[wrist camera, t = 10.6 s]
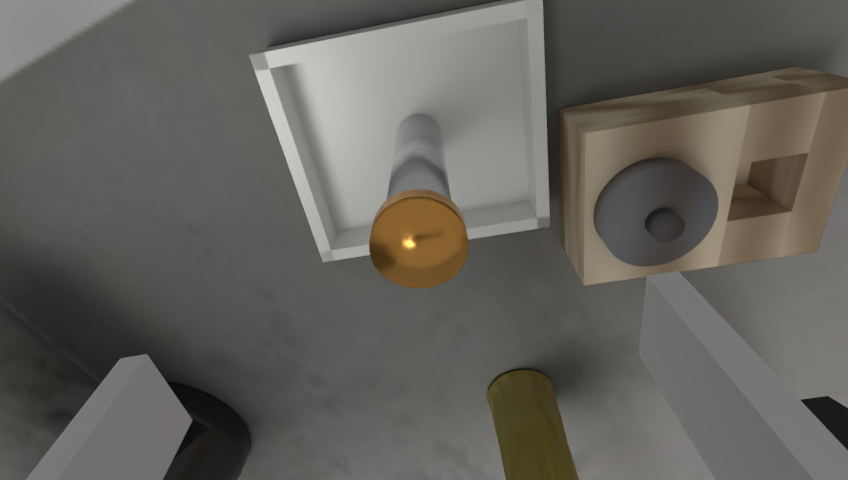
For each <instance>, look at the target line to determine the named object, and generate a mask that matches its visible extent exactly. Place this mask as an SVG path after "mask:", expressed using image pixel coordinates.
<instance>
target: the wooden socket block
mask: <svg viewBox="0 0 848 480" xmlns="http://www.w3.org/2000/svg"><path fill="white" fill-rule="evenodd" d="M559 133H560V190H561V245H562V247H563V248H564V250H565V252H566V254H567V256H568V258H569V260H570V261H571V263H572V265H573V267H574V269H575V271H576V273H577V274H578V276H579V278H580V280H581V282H582V284H583V285H584V286H585V285H592V284H599V283H605V282H612V281H619V280H626V279H633V278H640V277H647V276H648V275H655V274H661V273H667V272H674V271H679V272H682V271H688V270H695V269H702V268H709V267H716V266H723V265H730V264H737V263H744V262H751V261H758V260H764V259H771V258H778V257H785V256H792V255H799V254H806V253H813V252H817V249H818V246H819V243H820V240H821V237H822V234H823V231H824V228H825V225H826V222H827V219H828V216H829V213H830V210H831V207H832V205H833V202H834V199H835V196H836V193H837V190H838V187H839V184H840V181H841V178H842V175H843V172H844V169H845V166H846V163H847V160H848V78H846V77H842V76H837V75H833V74H829V73H824V72H820V71H815V70H811V69H807V68H802V67H792V68H786V69H781V70H775V71H770V72H764V73H758V74H753V75H747V76H741V77H736V78H730V79H725V80H719V81H713V82H708V83H702V84H696V85H691V86H685V87H680V88H674V89H668V90H663V91H657V92H651V93H646V94H640V95H635V96H629V97H623V98H618V99H612V100H606V101H601V102H595V103H590V104H584V105H578V106H573V107H567V108H561V109H559Z"/></svg>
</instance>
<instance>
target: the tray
mask: <svg viewBox="0 0 848 480" xmlns="http://www.w3.org/2000/svg"><path fill="white" fill-rule="evenodd" d="M249 57H250V59H251V62H252V65H253V68H254V71H255V74H256V76H257V79H258V82H259V85H260V88H261V90H262V93H263V96H264V99H265V102H266V104H267V107H268V110H269V113H270V116H271V118H272V121H273V124H274V127H275V130H276V132H277V135H278V138H279V141H280V144H281V146H282V149H283V152H284V155H285V158H286V160H287V163H288V166H289V169H290V172H291V174H292V177H293V180H294V183H295V186H296V188H297V191H298V194H299V197H300V200H301V202H302V205H303V208H304V211H305V214H306V216H307V219H308V222H309V225H310V228H311V230H312V233H313V236H314V239H315V242H316V244H317V247H318V250H319V253H320V256H321V258H322V261H323V262H328V261H334V260H341V259H347V258H353V257H360V256H366V255H370V251H369V241H370V235H371V230H372V225H373V220H374V217H375V215H376V213H377V211H378V209H379V208H380V207H381V205H382V204H383V203H384V202H385V201H387V195H388V189H389V182H390V175H391V168H392V161H393V155H394V148H395V141H396V134H397V129H398V127H399V125H400V123H401V122H402V121H403V120H404V119H405V118H406V117H408V116H410V115H413V114H425V115H428V116H430V117H431V118H433V119H434V120H435V121H436V122H437V123H438V125H439V127H440V129H441V134H442V141H443V148H444V155H445V162H446V169H447V175H448V182H449V189H450V196H451V201H452V202H453V203H454V204H455V205H456V206H457V207H458V208H459V210H460V211H461V213H462V215H463V218H464V221H465V226H466V231H467V236H468V240H469V239H475V238H481V237H488V236H494V235H501V234H507V233H513V232H520V231H526V230H533V229H539V228H545V227H550V207H549V176H548V146H547V115H546V84H545V53H544V23H543V0H502V1H497V2H492V3H487V4H482V5H477V6H472V7H467V8H462V9H457V10H452V11H447V12H442V13H437V14H432V15H427V16H422V17H417V18H412V19H407V20H402V21H397V22H392V23H387V24H382V25H377V26H372V27H367V28H362V29H357V30H352V31H347V32H342V33H337V34H332V35H327V36H322V37H317V38H312V39H307V40H302V41H297V42H292V43H287V44H282V45H277V46H272V47H267V48H264V49H262V50H260V51H257V52H255V53H253V54H251V55H249Z"/></svg>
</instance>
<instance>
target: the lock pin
mask: <svg viewBox="0 0 848 480" xmlns="http://www.w3.org/2000/svg"><path fill="white" fill-rule="evenodd" d="M468 249H469V243H468V236H467V231H466V226H465V221H464V218H463V215H462V213H461V211H460V210H459V208H458V207H457V206H456V205H455V204H454V203H453V202H452V201H451V196H450V189H449V182H448V175H447V169H446V162H445V155H444V148H443V141H442V134H441V129H440V127H439V125H438V123H437V122H436V121H435V120H434V119H433V118H431V117H430V116H428V115H425V114H413V115H410V116H408V117H406V118H405V119H404V120H403V121H402V122H401V123H400V125H399V127H398V129H397V134H396V141H395V148H394V155H393V161H392V168H391V175H390V182H389V189H388V195H387V201H385V202H384V203H383V204H382V205H381V207H380V208H379V209H378V211H377V213H376V215H375V217H374V220H373V225H372V230H371V235H370V241H369V251H370V256H371V259H372V261H373V263H374V265H375V267H376V268H377V269H378V271H379V272H380V273H381V274H382V275H383V276H384V277H386V278H387V279H389V280H390V281H392V282H394V283H396V284H398V285H401V286H405V287H409V288H428V287H433V286H437V285H440V284H442V283H444V282H446V281H448V280H449V279H451V278H452V277H453V276H455V275H456V274H457V273H458V272H459V270H460V269H461V268H462V266H463V265H464V263H465V261H466V258H467V255H468Z"/></svg>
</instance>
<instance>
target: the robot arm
mask: <svg viewBox="0 0 848 480" xmlns="http://www.w3.org/2000/svg"><path fill="white" fill-rule="evenodd" d="M639 357H640V358H641V360H642V362H643V363H644V365H645V366H646V368H647V370H648V371H649V373H650V374H651V376H652V378H653V379H654V381H655V383H656V384H657V386H658V387H659V389H660V391H661V392H662V394H663V395H664V397H665V399H666V400H667V402H668V404H669V405H670V407H671V408H672V410H673V412H674V413H675V415H676V416H677V418H678V420H679V421H680V423H681V424H682V426H683V428H684V429H685V431H686V433H687V434H688V436H689V437H690V439H691V441H692V442H693V444H694V445H695V447H696V449H697V450H698V452H699V454H700V455H701V457H702V458H703V460H704V462H705V463H706V465H707V466H708V468H709V470H710V471H711V473H712V474H713V476H714V478H715V479H716V480H848V408H847V407H845V406H843V405H842V404H840V403H838V402H837V401H835V400H833V399H832V398H830V397H828V396H825V397H818V398H810V399H803V400H800V399H799V398H798V397H797V396H796V395H795V394H794V393H793V392H792V391H791V390H790V389H789V388H788V387H787V386H786V385H785V383H784V382H783V381H782V380H781V379H780V378H779V377H778V376H777V375H776V374H775V373H774V372H773V371H772V370H771V369H770V368H769V366H768V365H767V364H766V363H765V362H764V361H763V360H762V359H761V358H760V357H759V356H758V355H757V354H756V353H755V352H754V351H753V350H752V348H751V347H750V346H749V345H748V344H747V343H746V342H745V341H744V340H743V339H742V338H741V337H740V336H739V335H738V334H737V333H736V332H735V330H734V329H733V328H732V327H731V326H730V325H729V324H728V323H727V322H726V321H725V320H724V319H723V318H722V317H721V316H720V315H719V314H718V312H717V311H716V310H715V309H714V308H713V307H712V306H711V305H710V304H709V303H708V302H707V301H706V300H705V299H704V298H703V297H702V295H701V294H700V293H699V292H698V291H697V290H696V289H695V288H694V287H693V286H692V285H691V284H690V283H689V282H688V281H687V280H686V279H685V277H684V276H683V275H682V274H681V273H680V272H679V271H674V272H667V273H661V274H655V275H648V276H647V277H646V287H645V297H644V307H643V317H642V327H641V337H640V347H639ZM249 449H250V438H249V434H248V432H247V429H246V427H245V426H244V424H243V423H242V421H241V420H240V419H239V418H238V416H237V415H236V414H235V413H234V412H233V411H231V410H230V409H229V408H228V407H226V406H225V405H224V404H222V403H221V402H219V401H217V400H216V399H214V398H212V397H210V396H208V395H206V394H204V393H201V392H199V391H196V390H194V389H191V388H187V387H184V386H180V385H176V384H171V383H167V382H166V381H165V379H164V378H163V376H162V375H161V373H160V372H159V371H158V369H157V368H156V366H155V365H154V363H153V362H152V360H151V359H150V357H149V356H148V354H144V355H138V356H132V357H125V358H120V359H119V361H118V362H117V363H116V364H115V366H114V367H113V368H112V370H111V371H110V372H109V373H108V375H107V376H106V377H105V379H104V380H103V381H102V382H101V384H100V385H99V386H98V388H97V389H96V390H95V391H94V393H93V394H92V395H91V397H90V398H89V399H88V400H87V402H86V403H85V404H84V406H83V407H82V408H81V409H80V411H79V412H78V413H77V415H76V416H75V417H74V418H73V420H72V421H71V422H70V423H69V425H68V426H67V427H66V429H65V430H64V431H63V432H62V434H61V435H60V436H59V438H58V439H57V440H56V441H55V443H54V444H53V445H52V447H51V448H50V449H49V450H48V452H47V453H46V454H45V456H44V457H43V458H42V459H41V461H40V462H39V463H38V465H37V466H36V467H35V468H34V470H33V471H32V472H31V474H30V475H29V476H28V477H27V479H26V480H237V479H238V477H239V476H240V474H241V472H242V469H243V467H244V464H245V461H246V458H247V456H248V453H249Z"/></svg>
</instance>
